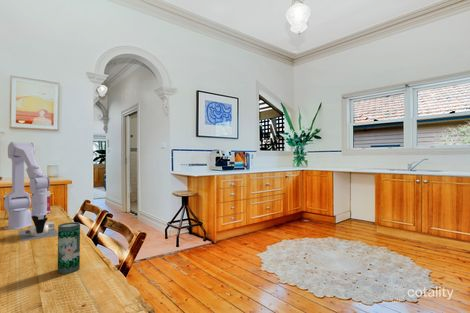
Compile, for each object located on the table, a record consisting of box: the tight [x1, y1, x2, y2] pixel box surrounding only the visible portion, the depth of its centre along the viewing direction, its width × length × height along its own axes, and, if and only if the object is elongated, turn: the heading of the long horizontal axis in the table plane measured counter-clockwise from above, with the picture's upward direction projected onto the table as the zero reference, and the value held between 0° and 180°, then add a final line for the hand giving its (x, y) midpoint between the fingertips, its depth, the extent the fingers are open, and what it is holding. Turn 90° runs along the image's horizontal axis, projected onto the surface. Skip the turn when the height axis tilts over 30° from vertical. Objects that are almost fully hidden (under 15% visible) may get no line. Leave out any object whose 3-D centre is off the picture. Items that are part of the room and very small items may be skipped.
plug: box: [25, 224, 53, 236], centre depth 125 cm, size 10×4×4 cm, turn 131°
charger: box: [45, 221, 55, 230], centre depth 134 cm, size 5×5×3 cm
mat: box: [18, 227, 58, 242], centre depth 127 cm, size 20×14×1 cm
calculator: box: [46, 189, 51, 215], centre depth 167 cm, size 11×4×15 cm, turn 179°
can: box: [57, 221, 81, 275], centre depth 89 cm, size 6×6×15 cm
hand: (39, 232), depth 125 cm, fingers closed on plug, 4 cm apart
